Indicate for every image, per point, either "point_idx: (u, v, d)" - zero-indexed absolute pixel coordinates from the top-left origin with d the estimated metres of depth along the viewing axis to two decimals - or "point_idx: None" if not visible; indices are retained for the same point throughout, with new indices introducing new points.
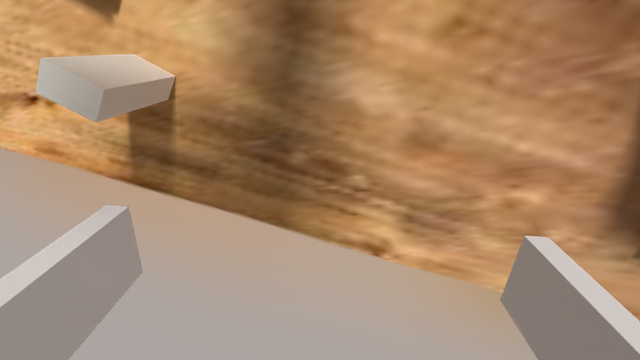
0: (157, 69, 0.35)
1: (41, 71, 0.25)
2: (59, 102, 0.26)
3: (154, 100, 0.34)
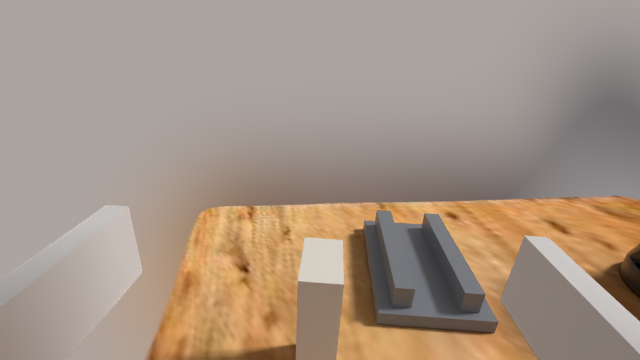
0: None
1: (329, 240, 0.25)
2: (304, 252, 0.23)
3: None
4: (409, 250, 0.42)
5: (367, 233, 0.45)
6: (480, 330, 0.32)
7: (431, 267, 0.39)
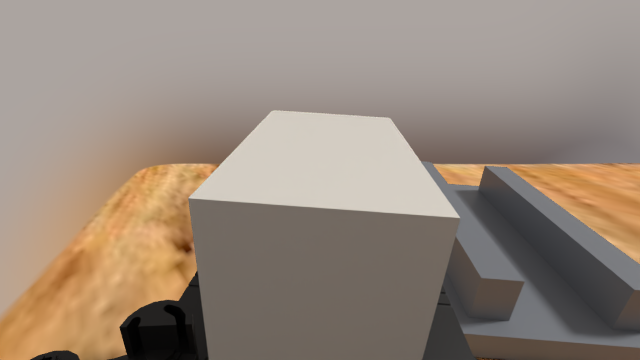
0: None
1: (349, 116, 0.08)
2: (263, 129, 0.06)
3: None
4: None
5: None
6: None
7: (517, 245, 0.22)
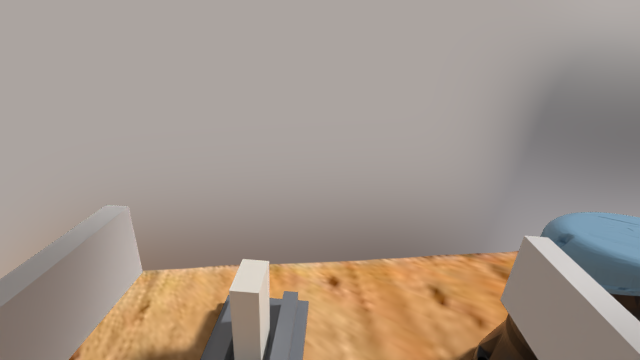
0: (264, 354, 0.37)
1: (259, 261, 0.36)
2: (239, 270, 0.34)
3: (238, 352, 0.35)
4: None
5: (221, 313, 0.44)
6: None
7: None
